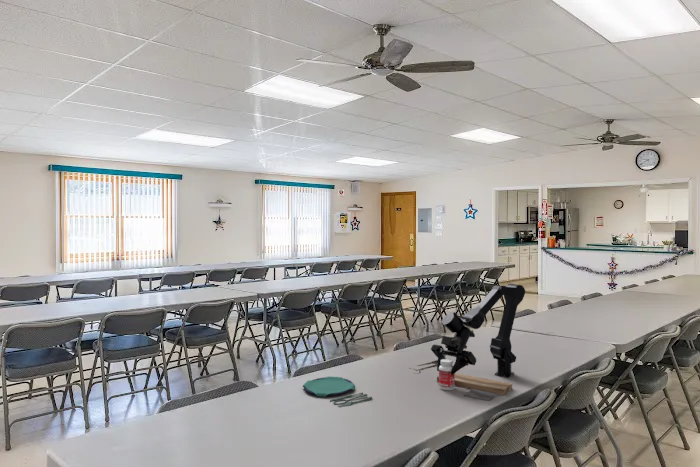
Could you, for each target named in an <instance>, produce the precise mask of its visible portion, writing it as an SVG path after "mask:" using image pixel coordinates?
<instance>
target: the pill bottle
mask: <svg viewBox="0 0 700 467" xmlns="http://www.w3.org/2000/svg"><path fill="white" fill-rule="evenodd" d="M453 366H454V363H453V360H452V359H449V358H446V359H442V360H441V365H440V366H439V371H438V376H439V382H438V387H439V389H440V390H442V391H453V390H455V388H456V386H455V373H454V374H453V375H451V370H452V368H453Z"/></svg>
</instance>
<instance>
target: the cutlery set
mask: <svg viewBox="0 0 700 467" xmlns="http://www.w3.org/2000/svg"><path fill="white" fill-rule="evenodd" d="M302 387H303V389H304V390H305V391H306V392H308V393H310V394H311V395H315V396H316V397H321V398H322V397H323V398H326V397H327V396H338V395H342V394H345V393H348V392H349V391H351V390H353V391H355V389H356V384H355V383H353V382H352V380H350V379H347V378H343V377H342V376H341V377H340V376H326V377H318V378H315V379H311V380H307V381H306V382H305V383H304V384H303V385H302ZM354 396H355V397H354ZM346 398H347V399H346ZM359 398H363V399H359ZM356 399H359V400H356ZM352 400H355V401H352ZM370 400H371V401H372V400H373V396H368V394H367V393H364V392H363V391H362V392H359V393H354V394H348V395H345V396H341V397H336V398H332V399H330V400H329V402H330V403H331V402H332V403H333V404H334V405H336V404H337V403H338V405H337V408H343V407H349V406H352V405H353V404H358V403H362V402H366V401H370ZM339 402H340V403H339Z"/></svg>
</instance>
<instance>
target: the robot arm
mask: <svg viewBox="0 0 700 467" xmlns="http://www.w3.org/2000/svg"><path fill="white" fill-rule="evenodd" d="M525 294H526V289H525V288H524V285H522V284H515V283H507V284H506V285H497V284H496V285H494V286H492V288H491V290H490V291H489V292H488V293H487V294H486V296H485V297H483V299H481V301H480V302H479V304H477V306H476V307H474V308H472V309H470V310H468V311H467V312H466V313H465V314H463V316H461V317H460V316H458V314H457V313H456V312H455V311H451V312H450V313H448V314H446V315H445V316H444V317H443V318H442V320H441V322H442V325H444V327H446V329H447V330H448V331H450V332H451V333H453V334H454V335H453V336H446V335H442V338H441V342H440V345H439V344H432V345H431V347H430V350H431V351H432V353H433V354H434V356H436V357H437V360H438V362H437V363H438V364H437V366H436V371H437V372H439V366H440V365H441V360H442V359H447V358H446V356H450V357H453V358H455V362H454V363H453V365H452V366H453V368H452V370H451V375H453V374H454V373H457V372H458V371H460V370H461V369H463V368H465V367H467V366H469V365H472V366H476V363H477V358H476V356H475V355H474V353H473V352H472V351H471V350H470V351H468V350H467V348H468V346H467V343H468V342H469V339H470V338H475V337H476V335H475V333H474V330H478V329H480V328H481V326H482V325H483V324H484V322H485V320H486V315H487V314H488V313H489V311H491V309H492V308H493V307H494V306H495V305H496V304H497V303H498V301H499V300H500V299H501V298H502V297H503V298H504V302H505V305H504V309H503V312H502V318H501V321H500V325H499V329H498V333H497V335H496V336H495V337H491V341H490V345H489V348H490V349H489V350H490V353H491V355H492V357H493V359H494V360H495V359H496V360H497V361H496V363H497V364H496V365H497V371H496V372H495V373H494V375H495V376H499V377H504V378H511V377H513V375H515V371H514V372H513V371H512V364H513V363H516V361H517V356H516V355H515V354H514V353H513V352H512V347H513V346H512V342H511V339H510V338H511V334H512V329H513V325H514V322H515V317H516V313H517V309H518V307H519V306H518V305H520V304H521V302H523V299H524V298H525ZM470 328H471V329H474V330H471V329H470ZM442 345H444V347H443V346H442Z"/></svg>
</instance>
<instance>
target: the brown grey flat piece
mask: <svg viewBox="0 0 700 467" xmlns="http://www.w3.org/2000/svg"><path fill="white" fill-rule="evenodd" d="M436 383H439V375H438V376H437V377H436ZM455 387H460V388H461V387H462V388H467V389H470V390H469V391H467V392H465V393H464V394H463V396H464V397H468V398H472V399H478V400H481V401H482V400H483V401H487V402H490V401H491V400H493V399H494V398H496V397H497V396H498V395H500V396H505V395H506V394H508V392H510V391H511V390H513V383H510V382H505V381H504V382H503V381H500V380H499V381H498V380H494V379H488V378H483V377H478V376H472V375H468V374H462V373H457V372H456V373H455Z"/></svg>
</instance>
